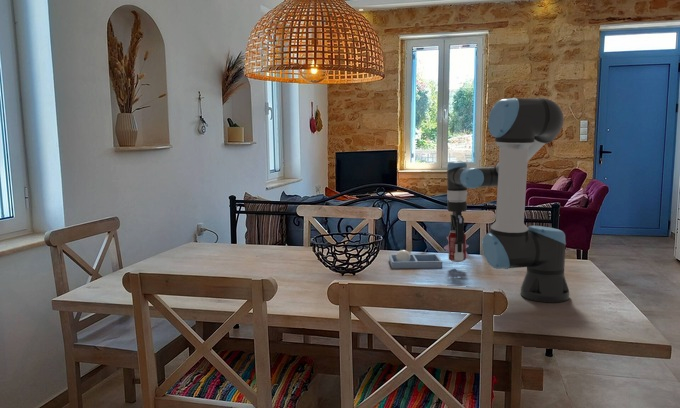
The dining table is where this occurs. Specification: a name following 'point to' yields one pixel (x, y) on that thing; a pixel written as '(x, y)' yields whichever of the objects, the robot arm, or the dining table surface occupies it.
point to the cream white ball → (403, 256)
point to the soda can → (452, 247)
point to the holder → (417, 261)
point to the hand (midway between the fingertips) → (457, 258)
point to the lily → (447, 249)
